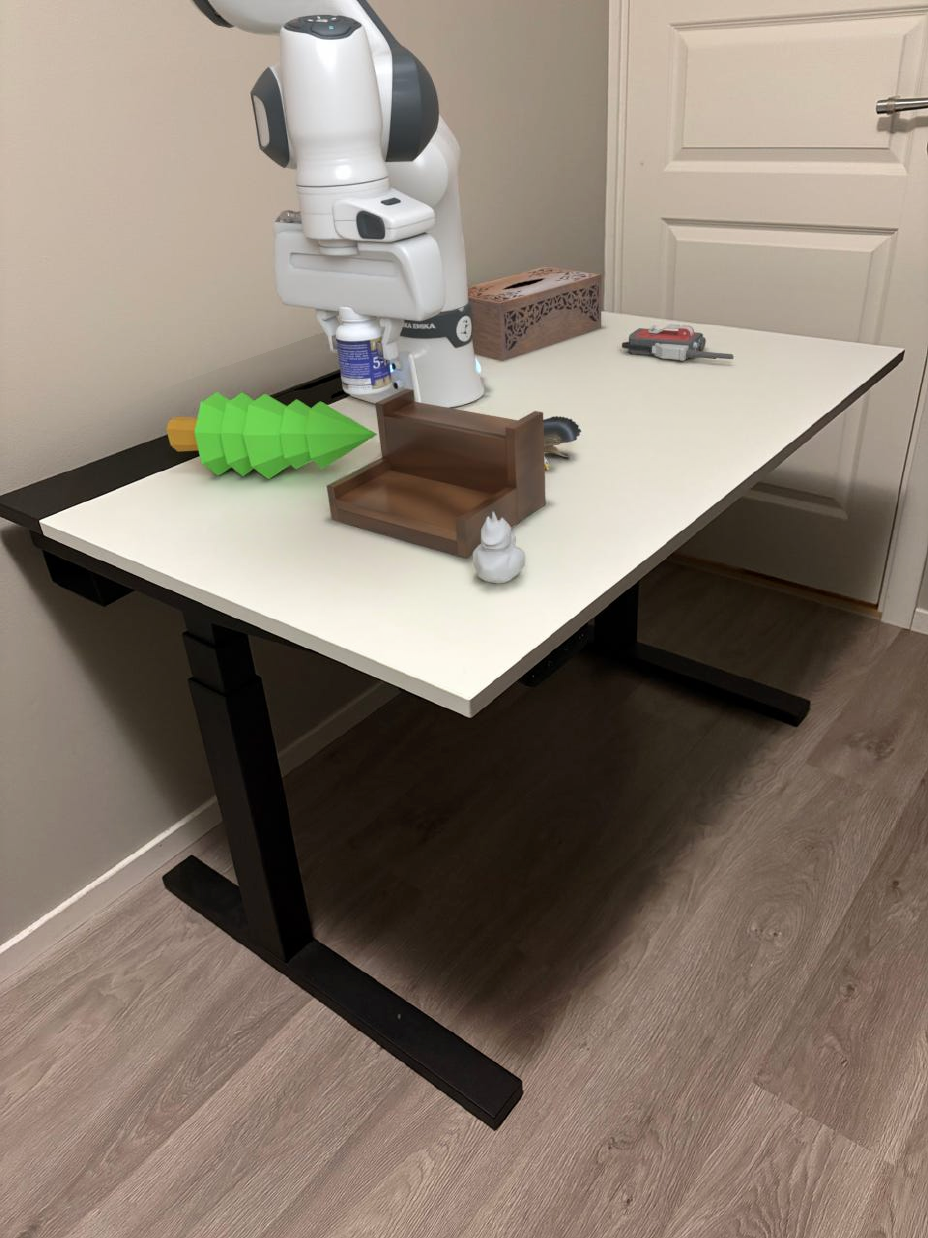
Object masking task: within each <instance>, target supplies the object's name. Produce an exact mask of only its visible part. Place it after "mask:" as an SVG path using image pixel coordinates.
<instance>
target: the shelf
mask: <svg viewBox="0 0 928 1238" xmlns="http://www.w3.org/2000/svg"><path fill="white" fill-rule="evenodd" d="M374 405H375V406H374V407H375V412H376V413H375V414H376V422H377V429H378V438H379V445H380V446H379V447H380V455H381V457H379V458H377V459H375V460H374V461H371V462H370V463H368V464H366V465H364V466H362V467H360V468H357V469H356V470H354V471H352V472H350V473H348V474H346V475H344V476H343V477H340V478H339V479H336V480H335V481H333V482H331V483H329V484H327V485H326V492H327V497H328V504H329V510H330V516H331V517H330V518H331V521H335V522H338V523H340V524H345V525H348V526H351V527H355V528H359V529H362V530H366V531H369V532H373V533H376V534H379V535H383V536H386V537H391V538H394V539H396V540H400V541H404V542H408V543H411V544H415V545H418V546H422V547H425V548H428V549H432V550H435V551H439V552H443V553H445V554H449V555H452V556H457V557H461V558H463V559H468V558H471V556H472V555H473V552H474V550H475V549H476V548H477V547H478V546H479V545H480V544H481V529H482V527H483V525H484V523H485V521H486V519H487V517H488V516H489V517H490V518H491V519H492V513H493V512H494V513H495V515H496V517H497V520H501V518H503V519H504V520H505V521H506V522H507V523H508V524H509V525H510V527H511V529H512V528H513V527H515V526H517V525H518V524H519V523H521V522H522V521H523V520H525V519H527V518H528V517H529V516H530V515H532V514H534V513H536V512H537V511H538V510H539V509H541V508H542V507H544V506H546V504H547V503H546V501H547V500H546V468H545V461H544V456H545V452H544V423H543V420H544V412H543V411H537V410H533V411H532V412H530V413H528V414H526V415H525V416H523V417H521V418H520V419H514V418H507V417H501V416H496V415H490V414H485V413H480V412H475V411H469V410H463V409H459V408H454V407H450V408H447V407H442V406H436V405H431V404H425V403H420V402H415V400H414V390H411V389H404V390H402V391H400V392H398V393H396V394H394V395H391V396H389V397H387V398H385V399H383V400H380V401H378V402H376V403H375V404H374Z"/></svg>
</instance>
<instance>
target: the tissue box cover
mask: <svg viewBox="0 0 928 1238" xmlns="http://www.w3.org/2000/svg"><path fill="white" fill-rule="evenodd" d="M602 278H603V277H602V274H601V273H594V272H587V271H581V270H574V269H567V268H559V267H553V266H546V265H544V266H542V267H538V268H535V269H531V270H526V271H523V272H518V273H515V274H511V275H507V276H504V277H501V278H497V279H493V280H488V281H485V282H481V283H477V284H474V285H470V286H467V288H468V300H469V301H470V302H471V306H472V317H473V332H472V342H473V348H474V354H475V356H476V355H477V356H481V357H486V358H489V359H493V360H498V361H501V362H504V361H507V360H510V359H514V358H516V357H520V356H522V355H525V354H528V353H531V352H534V351H537V350H540V349H544V348H546V347H549V346H552V345H555V344H558V343H561V342H564V341H567V340H570V339H573V338H576V337H579V336H581V335H585V334H588V333H592V332H594V331H597V330H600V329H602V287H603V286H602Z"/></svg>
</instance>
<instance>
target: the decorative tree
mask: <svg viewBox="0 0 928 1238" xmlns="http://www.w3.org/2000/svg"><path fill="white" fill-rule="evenodd" d="M165 430H166V433H167V437H168V440H169V445H170V446H171V447H172V448H173V449H174V450H175V451H176V452H194V451H198V454H199V457H200V462H201V464H202V465H203V466H204V467H205V468H207V469H208V470H210V471H211V472H212V473H213V474H215V475H216V476H220V475H222V474H224V473H226V472H227V471H229V470H230V469H233V470H234V471H235V472H237V473H238V474H239V475H240V476H242V477H244V476H246V475H247V474H249V473H251V472H252V471H253V470H255V471H257V472H258V473H259V474H261V475H262V476H263V477H264V478H266V479H267V480H270V479H271V478H273V477H274V476H276V475H278V474H279V473H280V472H282V471H284V470H286V469H287V468H288V467H290V466H291V467H293V468H294V469H295V470H298V469H299V468H301V467H303V466H305V465H307V464H308V463H310V462H313V463H315V465H317V466H318V467H319V468H320V469H321V470H324V469H325V468H326V467H328V466H329V465H331V464H333V463H334V462H336V461H338V460H340V458H342V457H344V456H345V455H347V454H349V453H350V452H352V451H353V450H355V449H356V448H358V447H360V446H361V445H363V444H365V443H366V442H368V441H369V440H372V439H373V438H374V437H375V436H377V435H378V433H376V432H375V431H372V430H371V429H369V428H368V427H366V426H364V425H362V424H361V423H359V422H357V421H355V420H354V419H352V418H350V417H349V416H348V415H347V416H346V415H345V414H343V413H341V412H339V411H338V410H336V409H334V408H333V407H331V406H329V405H328V404H326V403H324V402H322V401H319V402H317V403H316V404H315V405H313V406H312V407H310V406H308V405H306V403H304V402H302V401H300V400H299V399H295V400H293V401H292V402H291V403H290V404H288V405H286V404H284V403H282V402H281V401H278V400H277V399H276V398H274V397H272V396H270V395H269V394H266V393H264V394H262V395H260V396H259V397H257V398H256V399H255V400H254V399H253V398H251V396H249V395H247V394H246V393H245V392H244V391H242V392H240V393H238V394H237V395H235V396H233V397H232V398H231V399H229V398H227V397H226V396H224V395H223V394H221V393H220V392H219V391H216V392H214V393H213V394H212V395H210V396H209V397H207V398H206V399H204V400H202V401H201V402H200V405H199V409H198V415H197V417H190V416H178V415H177V416H175V417H172V418H171V419H169V421H168V423H167V426H166V429H165Z"/></svg>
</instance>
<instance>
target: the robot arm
mask: <svg viewBox="0 0 928 1238" xmlns="http://www.w3.org/2000/svg"><path fill="white" fill-rule="evenodd" d="M189 1H190V3H191V4H192V5H193V7H194V8H195V9H196V10H197V11H198V12H199V13H200V14H201V15H202V16H204V17H205V18H207V19H208V20H209V21H211V22H212V23H213V24H214V25H215V26H217V27H222V28H228V29H233V28H237V29H238V30H241V31H242V32H246V33H249V34H254V35H259V36H260V35H262V36H273V37H274V36H275V37H279V55H280V56H279V59H278V60H277V62H275V64H274V65H272V66H267V67H266V68H265V69H264V71H262V73H261V74H260V76H259V77H258V79H257V80H256V82H255V83H254V85H253V87H252V88H251V90H250V99H251V105H252V109H253V116H254V121H255V127H256V128H255V130H256V136H257V142H258V147H259V150H260V151H262V153H264V154H265V156H267V158H268V159H270V160H272V162H274V163H275V164H277V165H278V166H280V167H281V168H283V169H289V170H294V171H296V172H295V186H296V193H297V199H298V200H297V201H298V207H299V211H295V210H289V209H285V210H282V211H281V212H280V214H279V215H278V216H276V218H275V221H274V223H273V224H272V231H273V236H274V240H273V253H272V255H273V271H274V282H275V290H276V294H277V296H278V298H279V299H280V301H281V302H282V304H283V305H284V306H290V307H298V308H307V309H314V310H315V315H316V320H317V322H318V323H319V325H320V326H321V329H322V330H323V332H324V333H325V335H326V336H327V339H328V345H329V350H330V352H331V353H338V350H337V342H336V330H337V328H338V327H339V326H340V325H341V323H340V321H339V319H338V317H339V310H340V307H347V308H351V309H352V310H353V312H354V313H356V314H363V315H371V316H378V318H379V321H380V325H381V327H385V331H384V334H383V338H382V341H378V342H376V343H375V346H376V350H377V353H376V354H377V358H379V359H383V360H389V361H390V369H391V378H392V385H391V387H390V388H389V389H388V390H386V391H384V392H381V393H378V394H373V395H351V394H349V396H350V397H353V398H356V399H359V400H362V401H365V402H368V403H371V404H374V405H375V403H376V402H378V401H380V400H383V399H385V398H387V397H389V396H391V395H394V394H396V393H398V392H400V391H402V390H404V389H411V390H414V400H415V402H420V403H425V404H431V405H436V406H442V407H447V408H454V407H459V406H463V405H467V404H469V403H472V402H475V401H477V400H479V399H480V398H481V397H483V396H484V394H485V392H486V391H485V388H484V385H483V382H482V379H481V376H480V373H481V372H482V367H481V364H480V363H479V361H478V360H477V357H476V354H474V348H473V342H472V332H473V317H472V306H471V302H470V301H469V300H468V288H467V287H468V275H467V273H468V272H467V259H466V258H467V257H466V245H465V239H464V238H465V237H464V231H463V222H462V212H461V202H460V189H459V177H460V174H461V171H462V159H463V158H462V151H461V147H460V145H459V141H458V140H457V138H456V137H455V134H454V133H453V132H452V130H451V129H450V128H449V126H448V125H447V123H446V122H445V120H444V119H443V118H442V116H441V115H440V106H439V105H440V104H439V98H438V93H437V89H436V85H435V82H434V80H433V78H432V76H431V75H432V74H431V73H430V72H429V71H428V69H427V68H426V67H425V65H424V64H423V63H422V61H421V60H420V59H419V58H418V57H417V56H416V55H415V54H414V53H413V52H412V51H410V50H409V49H408V48H407V47H405V46H404V45H402V44H401V43H400V42H399V41H398V40H397V38H396V37H395V36H394V35H393V34H392V32H391V31H390V30H389V28H388V26H386V24H385V22H383V20H382V19H381V18H380V16H379V15H378V14H377V12H376V10H374V8H373V7H372V6H371V4H370V3H369V2H368V0H189Z"/></svg>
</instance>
